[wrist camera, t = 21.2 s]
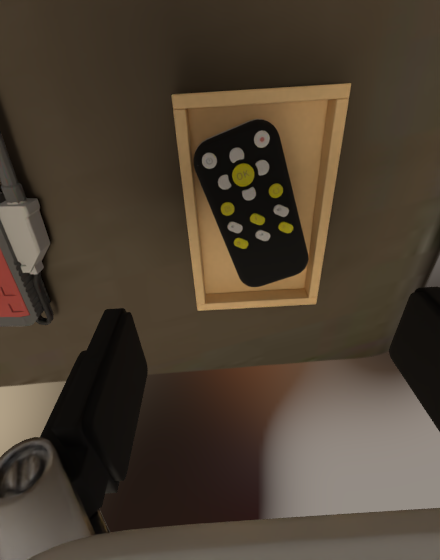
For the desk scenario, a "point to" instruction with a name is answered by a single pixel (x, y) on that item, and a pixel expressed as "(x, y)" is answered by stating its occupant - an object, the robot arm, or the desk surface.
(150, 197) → the desk surface
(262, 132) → the remote control
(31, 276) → the walkie-talkie
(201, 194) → the tray
